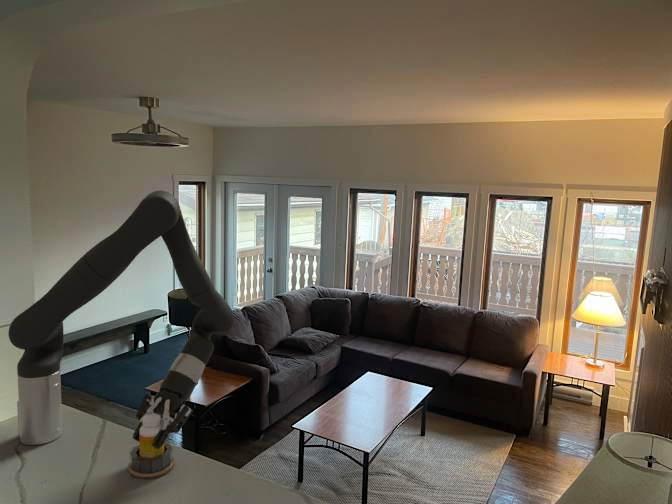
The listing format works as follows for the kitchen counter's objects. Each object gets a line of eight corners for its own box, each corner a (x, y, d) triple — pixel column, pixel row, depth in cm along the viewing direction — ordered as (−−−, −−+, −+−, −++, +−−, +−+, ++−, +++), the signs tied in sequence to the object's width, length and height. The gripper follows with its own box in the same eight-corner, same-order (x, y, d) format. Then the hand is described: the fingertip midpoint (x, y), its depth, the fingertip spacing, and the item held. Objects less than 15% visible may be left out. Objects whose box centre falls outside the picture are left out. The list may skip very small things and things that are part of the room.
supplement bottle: (156, 465, 114) (155, 424, 112) (134, 461, 115) (134, 421, 114) (168, 453, 119) (168, 414, 118) (148, 449, 120) (147, 410, 119)
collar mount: (118, 471, 115) (118, 454, 114) (152, 451, 124) (152, 436, 123) (150, 484, 110) (150, 467, 110) (183, 462, 119) (183, 446, 119)
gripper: (153, 363, 124) (113, 429, 115) (198, 375, 118) (160, 446, 109) (169, 377, 130) (132, 441, 121) (213, 389, 123) (177, 458, 114)
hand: (145, 443), depth 115 cm, fingers closed on supplement bottle, 5 cm apart
